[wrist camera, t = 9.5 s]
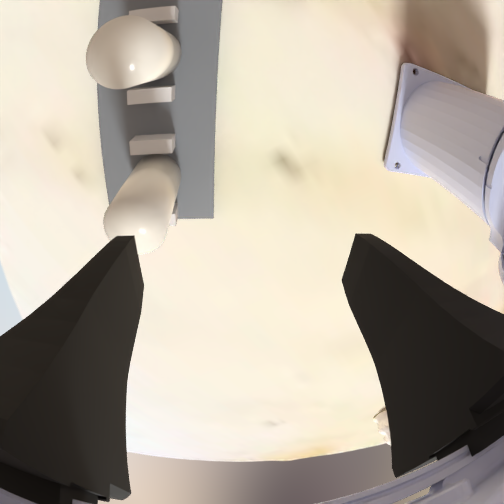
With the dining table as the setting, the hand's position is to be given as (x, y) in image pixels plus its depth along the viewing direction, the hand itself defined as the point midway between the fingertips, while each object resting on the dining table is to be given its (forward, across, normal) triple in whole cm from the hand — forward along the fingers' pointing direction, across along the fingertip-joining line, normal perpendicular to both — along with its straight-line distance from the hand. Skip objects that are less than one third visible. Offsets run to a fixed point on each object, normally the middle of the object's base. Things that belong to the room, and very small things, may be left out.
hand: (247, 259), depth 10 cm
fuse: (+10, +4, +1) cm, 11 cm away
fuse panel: (+10, +4, -7) cm, 13 cm away
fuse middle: (+10, +4, -7) cm, 13 cm away
